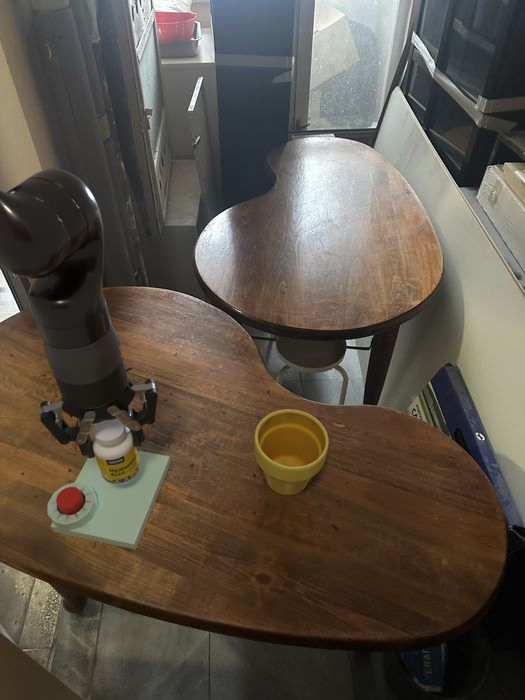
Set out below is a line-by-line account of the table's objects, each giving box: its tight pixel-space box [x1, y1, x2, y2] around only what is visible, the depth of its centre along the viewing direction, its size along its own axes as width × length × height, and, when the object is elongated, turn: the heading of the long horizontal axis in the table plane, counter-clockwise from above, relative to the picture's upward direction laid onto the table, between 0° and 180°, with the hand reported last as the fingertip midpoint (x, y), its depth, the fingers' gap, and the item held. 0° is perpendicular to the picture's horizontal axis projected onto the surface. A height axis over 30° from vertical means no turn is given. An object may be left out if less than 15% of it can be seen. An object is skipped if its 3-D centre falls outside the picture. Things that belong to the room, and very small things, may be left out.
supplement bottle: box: [91, 419, 140, 485], centre depth 65 cm, size 5×5×10 cm
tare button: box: [56, 487, 84, 515], centre depth 65 cm, size 3×3×2 cm
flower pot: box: [253, 408, 330, 496], centre depth 70 cm, size 10×10×10 cm
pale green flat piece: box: [47, 450, 172, 551], centre depth 69 cm, size 13×14×4 cm
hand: (114, 446), depth 65 cm, fingers closed on supplement bottle, 5 cm apart
